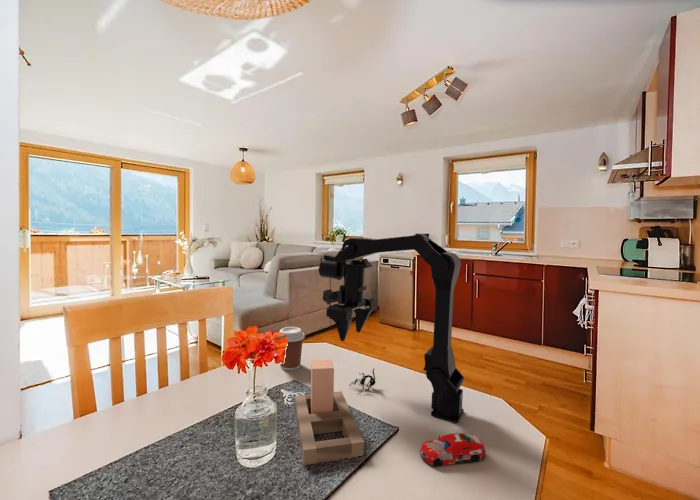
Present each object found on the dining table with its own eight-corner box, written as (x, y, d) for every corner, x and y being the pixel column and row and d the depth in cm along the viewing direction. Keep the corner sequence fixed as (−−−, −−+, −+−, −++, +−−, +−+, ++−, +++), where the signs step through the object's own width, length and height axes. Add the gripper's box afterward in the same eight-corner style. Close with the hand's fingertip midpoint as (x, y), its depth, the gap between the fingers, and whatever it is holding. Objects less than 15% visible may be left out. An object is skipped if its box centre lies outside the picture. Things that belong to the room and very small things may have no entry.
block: (331, 410, 83) (331, 359, 83) (333, 422, 78) (334, 368, 78) (310, 412, 83) (311, 360, 82) (311, 423, 78) (312, 369, 77)
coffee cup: (280, 374, 103) (281, 336, 103) (272, 363, 111) (272, 327, 110) (308, 368, 108) (309, 332, 107) (298, 358, 116) (299, 324, 115)
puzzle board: (294, 407, 85) (294, 395, 84) (341, 402, 87) (341, 391, 87) (303, 465, 64) (303, 450, 64) (363, 456, 67) (364, 441, 67)
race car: (425, 470, 64) (426, 450, 64) (415, 451, 69) (416, 432, 69) (489, 463, 66) (490, 444, 66) (475, 446, 71) (476, 427, 71)
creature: (350, 398, 92) (379, 393, 92) (346, 380, 91) (375, 374, 91) (350, 385, 100) (377, 380, 99) (347, 368, 99) (373, 362, 99)
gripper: (345, 275, 107) (342, 323, 108) (310, 282, 90) (308, 339, 91) (377, 279, 101) (374, 330, 102) (346, 288, 85) (343, 348, 86)
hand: (350, 336), depth 96 cm, fingers open, 9 cm apart
